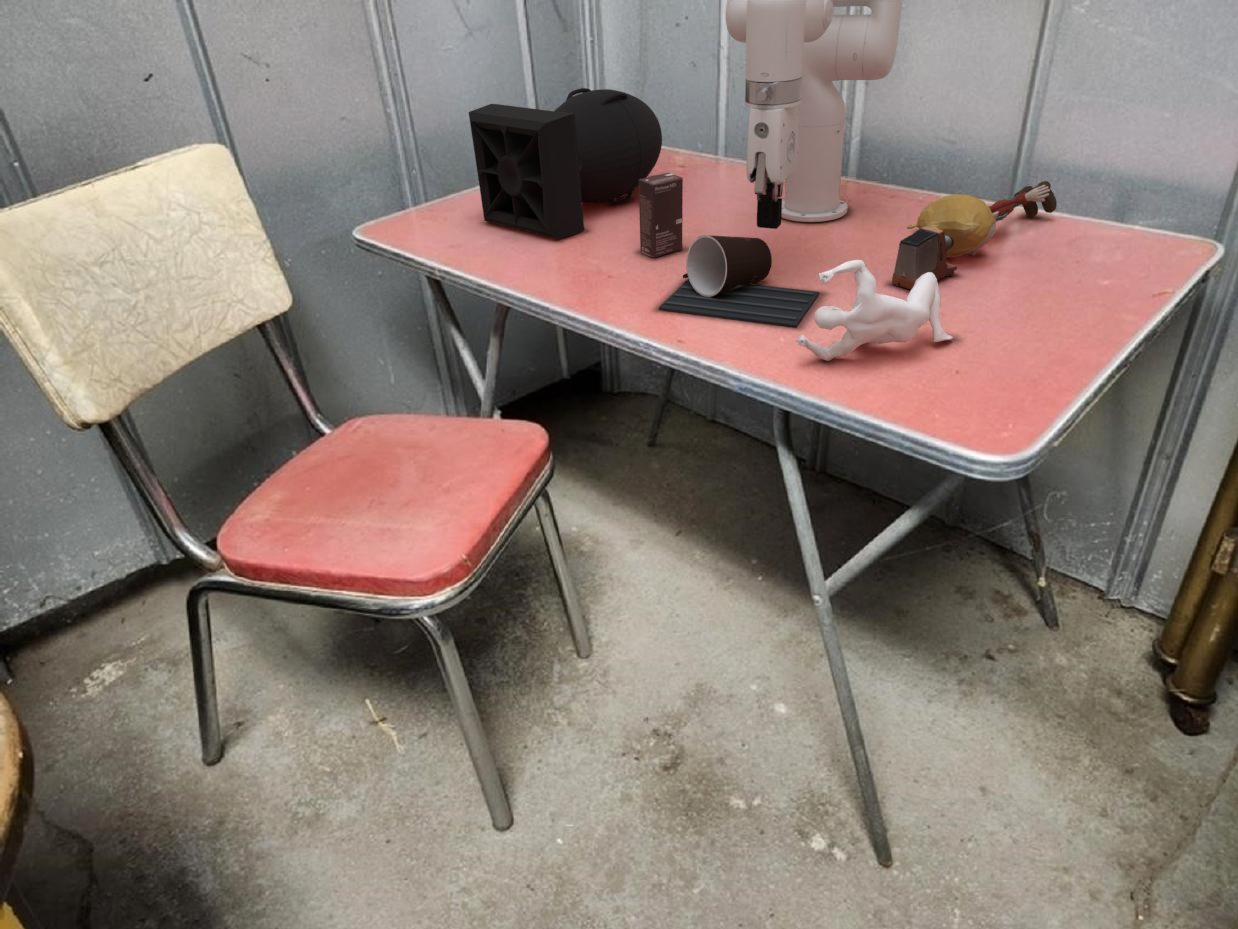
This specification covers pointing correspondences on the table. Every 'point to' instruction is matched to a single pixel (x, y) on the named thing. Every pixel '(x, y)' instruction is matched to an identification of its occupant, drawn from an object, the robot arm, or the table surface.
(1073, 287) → the table surface
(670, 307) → the drying mat
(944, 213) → the toy
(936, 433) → the table surface
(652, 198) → the box
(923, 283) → the person figurine
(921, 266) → the electronic device
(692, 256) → the coffee mug
